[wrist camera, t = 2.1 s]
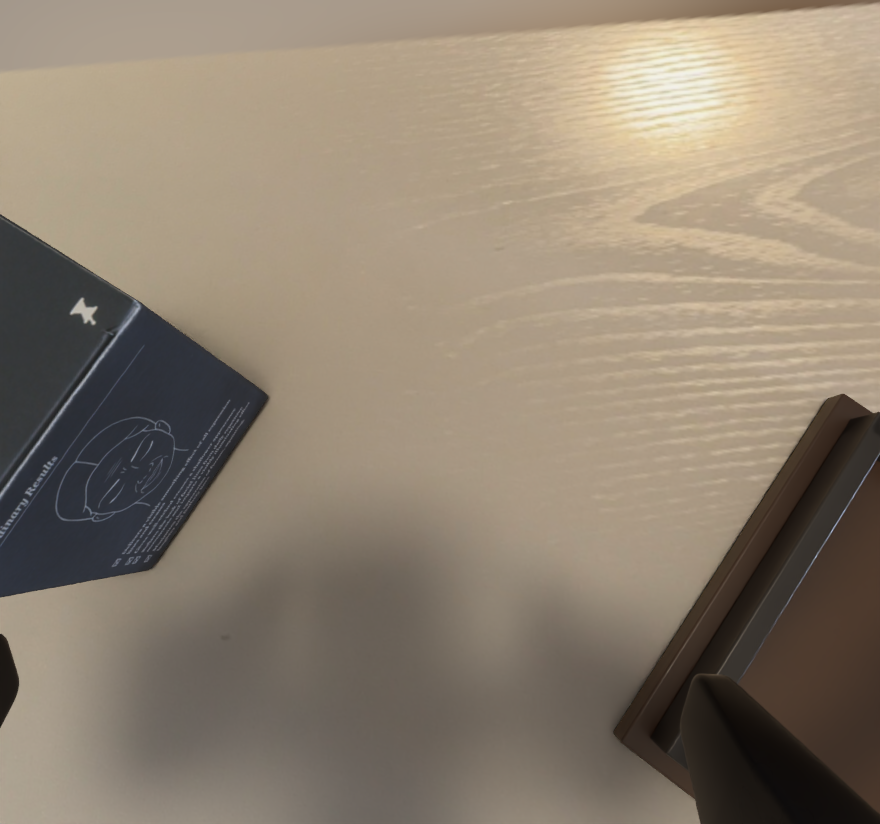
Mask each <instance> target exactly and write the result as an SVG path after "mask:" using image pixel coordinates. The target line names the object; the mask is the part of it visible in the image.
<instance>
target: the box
mask: <svg viewBox="0 0 880 824" xmlns="http://www.w3.org/2000/svg"><path fill="white" fill-rule="evenodd" d="M267 398H268V396H267V394H266V393H264V392H263V391H262V390H261V389H259V388H258V387H257V386H255V385H254V384H253V383H251V382H250V381H249V380H247V379H246V378H244V377H243V376H242V375H240V374H239V373H238V372H236V371H235V370H233V369H232V368H231V367H229V366H228V365H226V364H225V363H223V362H222V361H221V360H219V359H218V358H216V357H215V356H213V355H212V354H211V353H210V352H208V351H207V350H205V349H204V348H203V347H202V346H200V345H199V344H197V343H196V342H194V341H193V340H191V339H190V338H189V337H187V336H186V335H184V334H183V333H182V332H180V331H179V330H177V329H176V328H175V327H173V326H172V325H171V324H169V323H168V322H166V321H165V320H164V319H162V318H161V317H160V316H158V315H157V314H155V313H154V312H153V311H151V310H150V309H148V308H147V307H146V306H145V305H143V304H142V303H141V302H139V301H138V300H136V299H134V298H133V297H131V296H129V295H128V294H126V293H124V292H123V291H121V290H120V289H118V288H117V287H115V286H113V285H112V284H110V283H109V282H107V281H106V280H104V279H102V278H101V277H99V276H97V275H96V274H94V273H93V272H91V271H90V270H88V269H86V268H85V267H83V266H82V265H80V264H78V263H77V262H75V261H74V260H72V259H71V258H69V257H68V256H66V255H64V254H63V253H61V252H60V251H58V250H57V249H55V248H53V247H51V246H50V245H48V244H47V243H45V242H44V241H42V240H41V239H39V238H37V237H36V236H34V235H32V234H31V233H30V232H28V231H27V230H25V229H23V228H22V227H20V226H18V225H17V224H15V223H14V222H12V221H10V220H9V219H7V218H5V217H4V216H2V215H0V597H5V596H11V595H16V594H21V593H26V592H31V591H37V590H43V589H48V588H55V587H60V586H65V585H70V584H76V583H82V582H86V581H91V580H97V579H103V578H108V577H115V576H119V575H125V574H130V573H136V572H142V571H147V570H149V569H151V568H152V567H153V565H154V564H155V563H156V562H157V560H158V559H159V557H160V556H161V554H162V553H163V551H164V550H165V549H166V547H167V546H168V544H169V543H170V541H171V539H172V538H173V537H174V535H175V534H176V532H177V531H178V529H179V528H180V526H181V525H182V523H183V522H184V521H185V519H186V518H187V516H188V515H189V513H190V512H191V510H192V509H193V508H194V506H195V504H196V503H197V502H198V500H199V499H200V497H201V495H202V494H203V493H204V491H205V490H206V488H207V487H208V485H209V484H210V482H211V481H212V479H213V478H214V476H215V475H216V474H217V472H218V471H219V469H220V468H221V466H222V465H223V463H224V462H225V460H226V459H227V457H228V456H229V454H230V453H231V452H232V450H233V449H234V447H235V446H236V444H237V443H238V441H239V440H240V438H241V437H242V435H243V434H244V432H245V431H246V429H247V428H248V426H249V425H250V424H251V422H252V421H253V419H254V418H255V416H256V415H257V413H258V412H259V410H260V409H261V407H262V406H263V404H264V403H265V401H266V400H267Z"/></svg>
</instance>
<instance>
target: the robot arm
mask: <svg viewBox="0 0 880 824" xmlns="http://www.w3.org/2000/svg"><path fill="white" fill-rule="evenodd" d="M18 687H19V677H18V673H17V670H16V666H15V663H14V660H13V657H12V653H11V650H10V647H9V644H8V641H7V639H6V638H5V637H4V636H3V635H2V634H0V728H1V726H2V724H3V722H4V720H5V718H6V716H7V714H8V712H9V710H10V708H11V706H12V704H13V702H14V700H15V698H16V695H17V692H18ZM680 731H681V738H682V742H683V747H684V751H685V756H686V760H687V765H688V769H689V774H690V779H691V783H692V788H693V792H694V797H695V801H696V806H697V810H698V815H699V819H700V824H880V814H879V813H878V812H877V811H876V810H875V809H874V808H873V807H871V806H870V805H869V804H868V803H867V802H866V801H865V800H864V799H863V798H862V797H861V796H860V795H858V794H857V793H856V792H855V791H854V790H853V789H852V788H851V787H850V786H849V785H848V784H846V783H845V782H844V781H843V780H842V779H841V778H840V777H839V776H838V775H837V774H836V773H834V772H833V771H832V770H831V769H830V768H829V767H828V766H827V765H826V764H825V763H824V762H822V761H821V760H820V759H819V758H818V757H817V756H816V755H815V754H814V753H813V752H812V751H810V750H809V749H808V748H807V747H806V746H805V745H804V744H803V743H802V742H801V741H800V740H798V739H797V738H796V737H795V736H794V735H793V734H792V733H791V732H790V731H789V730H788V729H786V728H785V727H784V726H783V725H782V724H781V723H780V722H779V721H778V720H777V719H776V718H774V717H773V716H772V715H771V714H770V713H769V712H768V711H767V710H766V709H765V708H764V707H762V706H761V705H760V704H759V703H758V702H757V701H756V700H755V699H754V698H753V697H752V696H750V695H749V694H748V693H747V692H746V691H745V690H744V689H743V688H742V687H741V686H740V685H738V684H737V683H736V682H735V681H734V680H733V679H731V678H730V677H728V676H726V675H718V674H697V675H695V676H694V678H693V679H692V682H691V685H690V688H689V691H688V695H687V698H686V701H685V705H684V708H683V711H682V715H681V720H680Z"/></svg>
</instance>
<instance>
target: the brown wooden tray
mask: <svg viewBox="0 0 880 824" xmlns="http://www.w3.org/2000/svg"><path fill="white" fill-rule="evenodd" d="M697 674H718V675H726V676H728V677H730V678H731V679H733V680H734V681H735V682H736V683H737V684H738V685H740V686H741V687H742V688H743V689H744V690H745V691H746V692H747V693H748V694H749V695H750V696H752V697H753V698H754V699H755V700H756V701H757V702H758V703H759V704H760V705H761V706H762V707H764V708H765V709H766V710H767V711H768V712H769V713H770V714H771V715H772V716H773V717H774V718H776V719H777V720H778V721H779V722H780V723H781V724H782V725H783V726H784V727H785V728H786V729H788V730H789V731H790V732H791V733H792V734H793V735H794V736H795V737H796V738H797V739H798V740H800V741H801V742H802V743H803V744H804V745H805V746H806V747H807V748H808V749H809V750H810V751H812V752H813V753H814V754H815V755H816V756H817V757H818V758H819V759H820V760H821V761H822V762H824V763H825V764H826V765H827V766H828V767H829V768H830V769H831V770H832V771H833V772H834V773H836V774H837V775H838V776H839V777H840V778H841V779H842V780H843V781H844V782H845V783H846V784H848V785H849V786H850V787H851V788H852V789H853V790H854V791H855V792H856V793H857V794H858V795H860V796H861V797H862V798H863V799H864V800H865V801H866V802H867V803H868V804H869V805H870V806H871V807H873V808H874V809H875V810H876V811H877V812H878V813H879V814H880V412H877V413H872V412H870V411H869V410H867V409H866V408H865V407H863V406H862V405H860V404H859V403H857V402H856V401H854V400H853V399H851V398H850V397H848V396H847V395H845V394H840V395H837V396H834V397H831V398H828V399H827V400H826V402H825V404H824V405H823V407H822V408H821V410H820V411H819V413H818V414H817V416H816V418H815V419H814V421H813V422H812V424H811V425H810V427H809V428H808V430H807V432H806V433H805V435H804V436H803V438H802V439H801V441H800V442H799V444H798V446H797V447H796V449H795V450H794V452H793V453H792V455H791V456H790V458H789V460H788V461H787V463H786V464H785V466H784V467H783V469H782V470H781V472H780V474H779V475H778V477H777V478H776V480H775V481H774V483H773V484H772V486H771V488H770V489H769V491H768V492H767V494H766V495H765V497H764V498H763V500H762V502H761V503H760V505H759V506H758V508H757V509H756V511H755V512H754V514H753V516H752V517H751V519H750V520H749V522H748V523H747V525H746V526H745V528H744V530H743V531H742V533H741V534H740V536H739V537H738V539H737V540H736V542H735V544H734V545H733V547H732V548H731V550H730V551H729V553H728V554H727V556H726V558H725V559H724V561H723V562H722V564H721V565H720V567H719V568H718V570H717V572H716V573H715V575H714V576H713V578H712V579H711V581H710V582H709V584H708V586H707V587H706V589H705V590H704V592H703V593H702V595H701V596H700V598H699V600H698V601H697V603H696V604H695V606H694V607H693V609H692V610H691V612H690V614H689V615H688V617H687V618H686V620H685V621H684V623H683V624H682V626H681V628H680V629H679V631H678V632H677V634H676V635H675V637H674V638H673V640H672V642H671V643H670V645H669V646H668V648H667V649H666V651H665V652H664V654H663V656H662V657H661V659H660V660H659V662H658V663H657V665H656V666H655V668H654V670H653V671H652V673H651V674H650V676H649V677H648V679H647V680H646V682H645V684H644V685H643V687H642V688H641V690H640V691H639V693H638V694H637V696H636V698H635V699H634V701H633V702H632V704H631V705H630V707H629V708H628V710H627V712H626V713H625V715H624V716H623V718H622V719H621V721H620V722H619V724H618V726H617V727H616V729H615V730H614V735H615V736H616V737H617V738H618V739H619V741H620V742H621V743H622V744H624V745H625V746H626V747H627V748H629V749H630V750H631V751H633V752H634V753H635V754H637V755H638V756H639V757H640V758H642V759H643V760H644V761H646V762H647V763H648V764H650V765H651V766H652V767H653V768H655V769H656V770H657V771H659V772H660V773H661V774H663V775H664V776H665V777H666V778H668V779H669V780H670V781H672V782H673V783H674V784H676V785H677V786H678V787H680V788H681V789H682V790H683V791H685V792H686V793H687V794H689V795H690V796H691V797H693V798H694V799H695V797H694V792H693V788H692V783H691V779H690V774H689V769H688V765H687V760H686V756H685V751H684V747H683V742H682V738H681V731H680V720H681V715H682V711H683V708H684V705H685V701H686V698H687V695H688V691H689V688H690V685H691V682H692V679H693V678H694V676H695V675H697Z"/></svg>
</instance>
